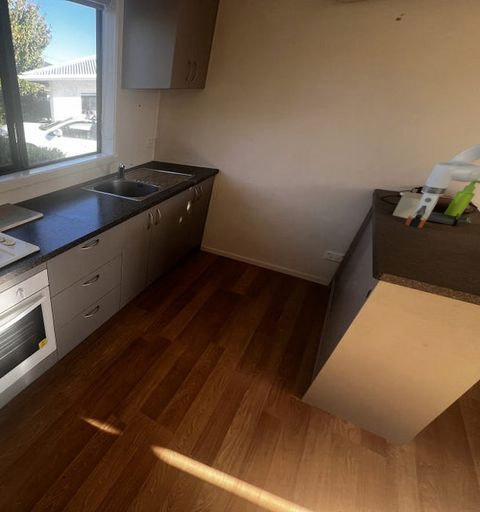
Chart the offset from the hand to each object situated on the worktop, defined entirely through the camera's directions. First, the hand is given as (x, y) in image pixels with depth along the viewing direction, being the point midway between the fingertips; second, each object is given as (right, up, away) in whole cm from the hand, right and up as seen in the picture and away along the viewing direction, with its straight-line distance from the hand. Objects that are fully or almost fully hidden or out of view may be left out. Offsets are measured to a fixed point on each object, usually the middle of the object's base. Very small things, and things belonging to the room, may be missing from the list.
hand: (414, 224), depth 146 cm
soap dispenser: (+33, +5, +12) cm, 36 cm away
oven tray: (+20, +3, +4) cm, 20 cm away
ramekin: (0, -1, 0) cm, 1 cm away
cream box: (+12, +6, +13) cm, 18 cm away
